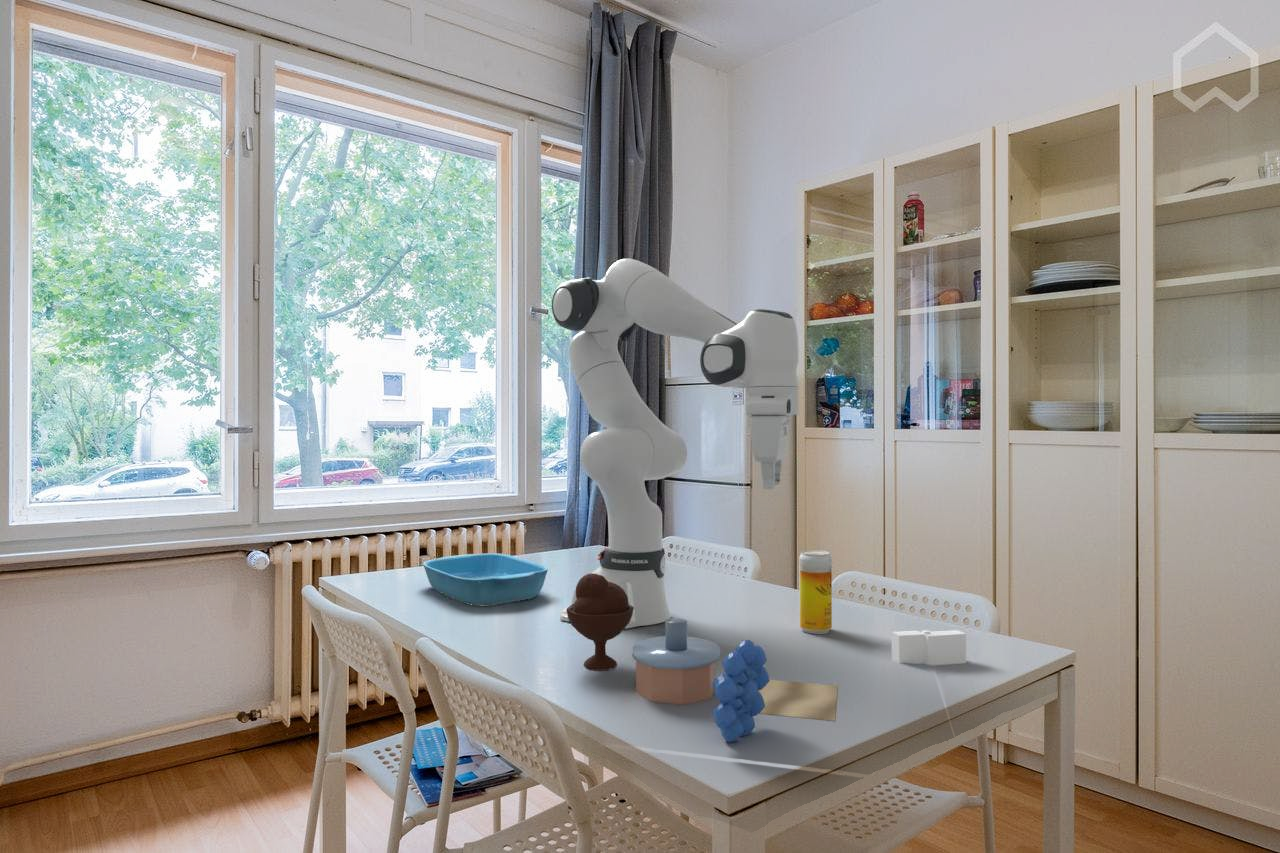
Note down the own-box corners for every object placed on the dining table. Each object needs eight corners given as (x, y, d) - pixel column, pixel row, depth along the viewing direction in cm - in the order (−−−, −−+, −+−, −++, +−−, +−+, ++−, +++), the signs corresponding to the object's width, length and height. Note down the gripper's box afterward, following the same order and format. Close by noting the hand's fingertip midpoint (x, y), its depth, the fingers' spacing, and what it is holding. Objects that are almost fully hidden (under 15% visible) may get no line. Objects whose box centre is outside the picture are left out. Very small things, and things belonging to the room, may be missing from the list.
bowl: (629, 701, 109) (629, 663, 109) (650, 676, 120) (650, 641, 120) (705, 709, 106) (705, 669, 106) (719, 683, 117) (719, 647, 117)
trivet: (729, 713, 105) (729, 710, 105) (744, 680, 118) (744, 677, 118) (834, 723, 101) (834, 720, 101) (837, 688, 114) (837, 685, 114)
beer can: (832, 635, 143) (832, 555, 143) (799, 633, 144) (799, 554, 144) (830, 627, 149) (830, 550, 149) (799, 625, 150) (798, 549, 150)
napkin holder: (976, 660, 129) (976, 627, 129) (971, 681, 119) (970, 644, 119) (884, 649, 136) (884, 617, 136) (872, 667, 126) (872, 632, 126)
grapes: (735, 714, 104) (735, 627, 104) (780, 726, 100) (780, 635, 100) (688, 743, 95) (688, 647, 95) (735, 757, 91) (735, 656, 91)
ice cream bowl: (580, 679, 119) (580, 583, 119) (559, 659, 129) (559, 570, 129) (643, 670, 123) (643, 577, 123) (617, 651, 133) (617, 566, 133)
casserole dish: (411, 586, 189) (411, 557, 189) (494, 575, 202) (494, 548, 202) (471, 616, 159) (470, 582, 159) (564, 601, 172) (564, 570, 172)
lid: (621, 664, 108) (621, 629, 108) (645, 639, 121) (645, 608, 121) (711, 672, 105) (711, 636, 105) (726, 645, 118) (726, 613, 117)
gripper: (760, 406, 140) (760, 481, 140) (744, 403, 120) (744, 491, 120) (795, 406, 138) (795, 482, 138) (785, 403, 118) (785, 492, 118)
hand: (772, 486), depth 129 cm, fingers open, 8 cm apart
